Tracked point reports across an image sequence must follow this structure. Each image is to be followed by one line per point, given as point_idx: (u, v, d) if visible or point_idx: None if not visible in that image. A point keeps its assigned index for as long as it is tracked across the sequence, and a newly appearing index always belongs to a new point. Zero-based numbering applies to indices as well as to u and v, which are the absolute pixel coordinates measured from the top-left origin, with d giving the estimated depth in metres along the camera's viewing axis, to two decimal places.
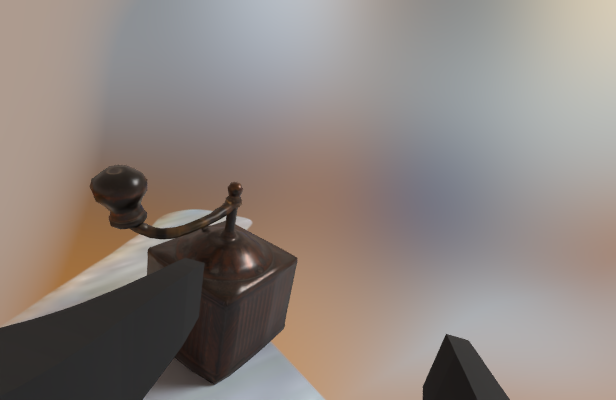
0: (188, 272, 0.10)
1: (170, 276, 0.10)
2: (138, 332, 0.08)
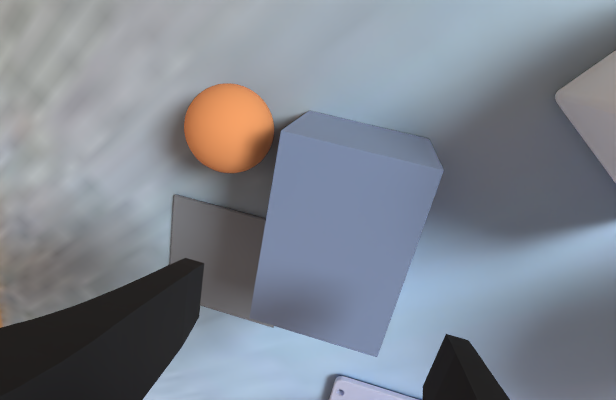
0: (188, 272, 0.10)
1: (170, 276, 0.10)
2: (138, 332, 0.08)
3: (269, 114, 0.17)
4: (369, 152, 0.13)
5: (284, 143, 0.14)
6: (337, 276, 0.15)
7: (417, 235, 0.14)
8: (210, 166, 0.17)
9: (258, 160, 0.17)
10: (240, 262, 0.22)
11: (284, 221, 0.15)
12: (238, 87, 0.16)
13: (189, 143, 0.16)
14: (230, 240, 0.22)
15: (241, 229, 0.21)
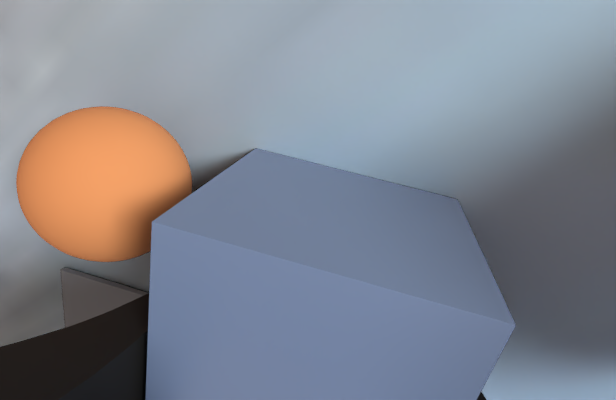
0: None
1: None
2: None
3: (176, 161, 0.09)
4: (344, 276, 0.06)
5: (162, 247, 0.06)
6: None
7: None
8: (70, 254, 0.09)
9: None
10: None
11: (180, 386, 0.07)
12: (114, 115, 0.09)
13: (26, 216, 0.09)
14: None
15: None
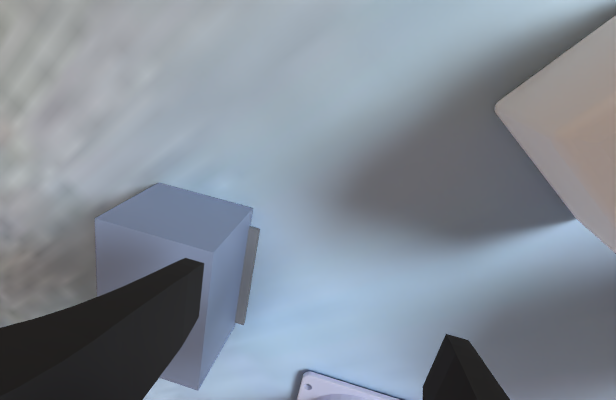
0: (188, 272, 0.10)
1: (170, 276, 0.10)
2: (138, 332, 0.08)
3: None
4: (159, 237, 0.17)
5: (98, 227, 0.17)
6: None
7: (206, 299, 0.18)
8: None
9: None
10: None
11: (110, 284, 0.18)
12: None
13: None
14: None
15: None
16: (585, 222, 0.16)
